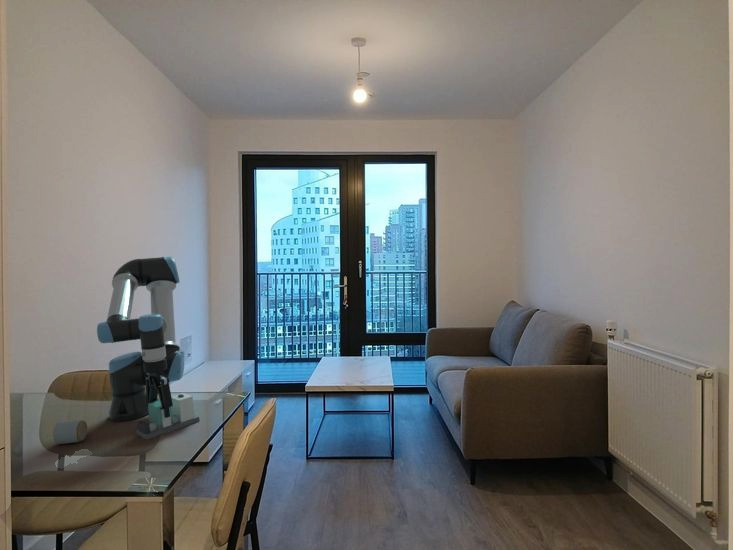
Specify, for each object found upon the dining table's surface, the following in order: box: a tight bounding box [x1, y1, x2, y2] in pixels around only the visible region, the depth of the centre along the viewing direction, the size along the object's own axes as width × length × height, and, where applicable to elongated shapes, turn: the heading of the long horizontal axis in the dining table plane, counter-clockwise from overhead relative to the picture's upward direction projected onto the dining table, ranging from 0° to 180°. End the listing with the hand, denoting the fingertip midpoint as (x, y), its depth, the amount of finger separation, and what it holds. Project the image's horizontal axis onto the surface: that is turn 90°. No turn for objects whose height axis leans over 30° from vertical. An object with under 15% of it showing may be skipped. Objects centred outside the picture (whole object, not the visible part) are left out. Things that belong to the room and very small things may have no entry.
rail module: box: [148, 399, 173, 430], centre depth 170 cm, size 5×7×8 cm
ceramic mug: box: [52, 419, 88, 445], centre depth 167 cm, size 11×8×8 cm
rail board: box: [135, 392, 200, 440], centre depth 172 cm, size 19×8×10 cm, turn 138°
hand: (161, 423), depth 171 cm, fingers open, 7 cm apart
